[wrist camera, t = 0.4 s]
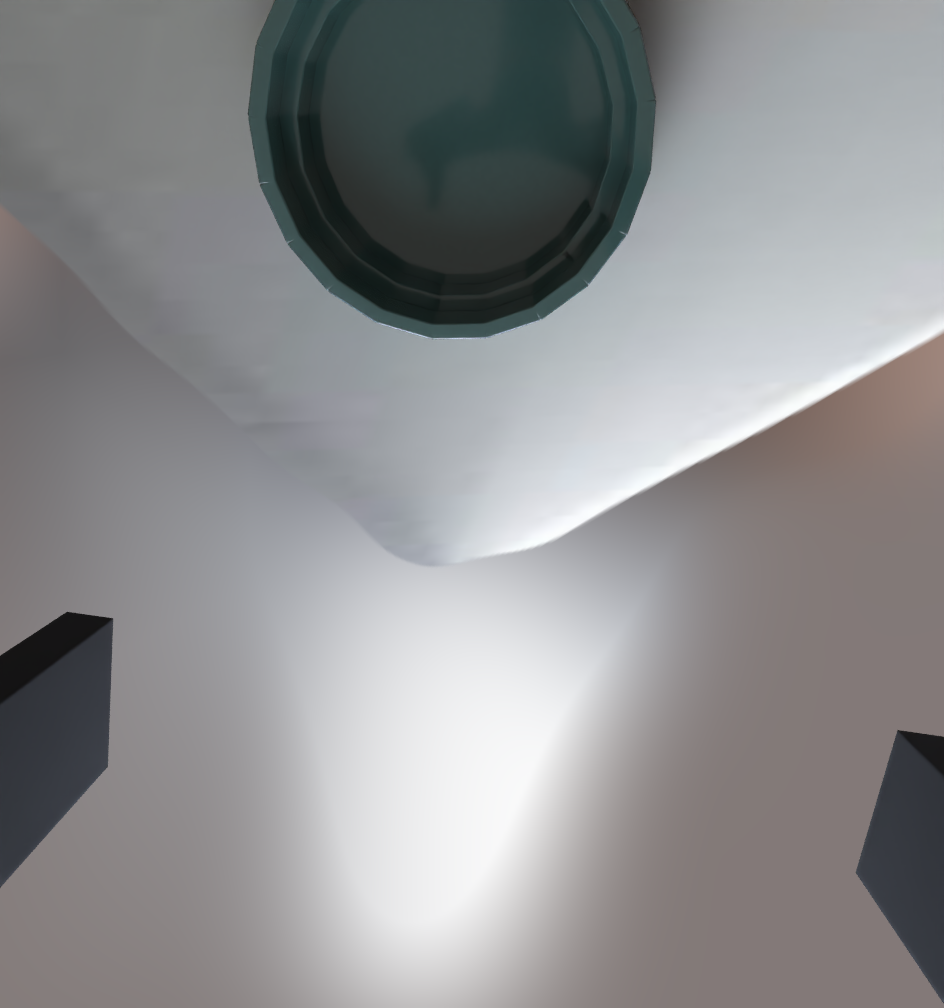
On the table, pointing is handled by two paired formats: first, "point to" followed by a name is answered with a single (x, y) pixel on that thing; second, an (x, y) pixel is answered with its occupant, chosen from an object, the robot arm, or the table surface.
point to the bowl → (452, 151)
